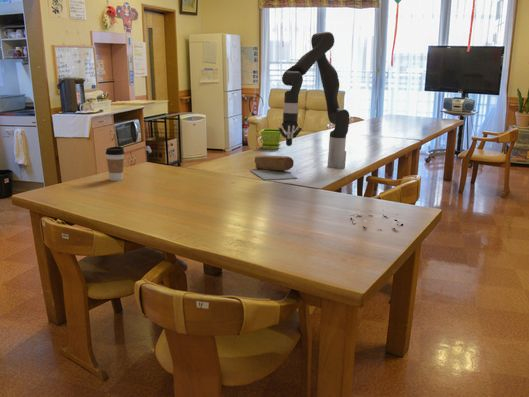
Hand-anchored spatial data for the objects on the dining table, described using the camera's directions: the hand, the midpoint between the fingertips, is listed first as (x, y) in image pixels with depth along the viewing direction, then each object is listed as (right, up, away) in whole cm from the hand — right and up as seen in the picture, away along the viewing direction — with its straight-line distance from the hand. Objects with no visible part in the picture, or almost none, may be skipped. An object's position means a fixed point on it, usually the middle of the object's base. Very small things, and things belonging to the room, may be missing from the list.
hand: (288, 145), depth 251 cm
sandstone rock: (+1, -9, +6) cm, 11 cm away
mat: (-8, -15, +1) cm, 17 cm away
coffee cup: (-83, -19, -22) cm, 87 cm away
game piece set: (+28, -37, -72) cm, 85 cm away
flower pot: (-8, +8, +88) cm, 88 cm away
